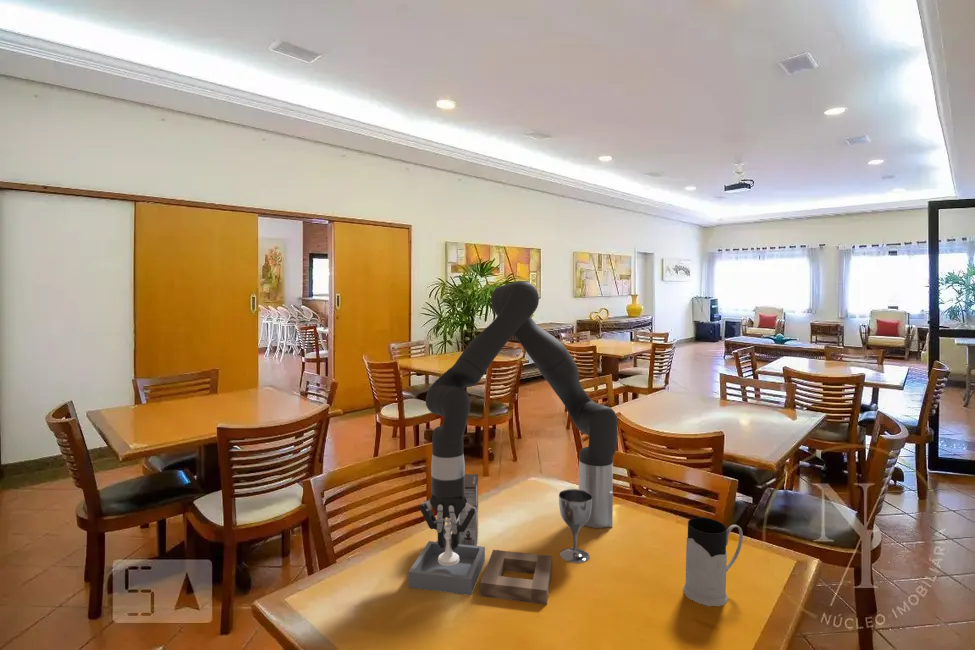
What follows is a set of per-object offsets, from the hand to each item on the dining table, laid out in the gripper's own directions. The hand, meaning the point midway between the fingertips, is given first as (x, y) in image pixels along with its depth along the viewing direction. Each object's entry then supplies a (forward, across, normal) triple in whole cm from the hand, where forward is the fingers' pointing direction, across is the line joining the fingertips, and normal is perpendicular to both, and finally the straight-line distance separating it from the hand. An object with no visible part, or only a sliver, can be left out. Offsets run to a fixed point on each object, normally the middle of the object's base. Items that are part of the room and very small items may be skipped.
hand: (448, 546), depth 115 cm
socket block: (+6, -16, 0) cm, 17 cm away
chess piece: (+3, 0, 0) cm, 3 cm away
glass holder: (+6, -58, -5) cm, 59 cm away
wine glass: (+6, -28, -14) cm, 32 cm away
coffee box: (+6, 0, -16) cm, 17 cm away
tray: (+6, 0, 0) cm, 6 cm away
